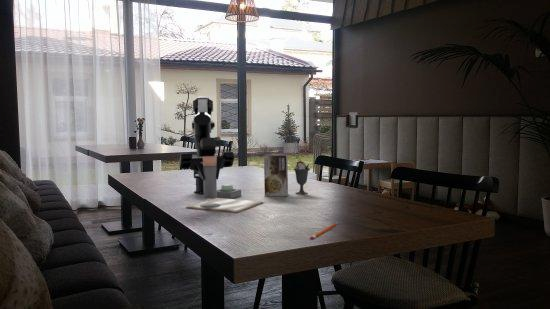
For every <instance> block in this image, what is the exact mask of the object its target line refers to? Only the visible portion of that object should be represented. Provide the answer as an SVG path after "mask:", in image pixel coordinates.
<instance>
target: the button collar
mask: <svg viewBox="0 0 550 309" xmlns="http://www.w3.org/2000/svg"><path fill="white" fill-rule="evenodd" d="M241 196H242V189H241V188H233V191H231V192H226V191H222V188H220V189H217V197H216V198H224V199H235V198H238V197H241Z"/></svg>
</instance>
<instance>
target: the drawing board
mask: <svg viewBox="0 0 550 309" xmlns="http://www.w3.org/2000/svg"><path fill="white" fill-rule="evenodd" d="M261 204H264V201H261V200H249V199H246V200H245V199H235V198H232V199H225V198H209V199H207V200H204V201H201V202H200V201H199V202H198V203H193V204H190V205H187V206H185V208H186V209H191V210H201V211H210V212H211V211H212V212H222V213H230V214H231V213H233V214H238V213H241V212H243V211H247V210H250V209H251V208H254V207H257V206H259V205H261Z"/></svg>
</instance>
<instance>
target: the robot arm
mask: <svg viewBox="0 0 550 309" xmlns="http://www.w3.org/2000/svg"><path fill="white" fill-rule="evenodd" d="M192 111H193V113H194V118H193V120H191V129H192V131H194V132H193V133H194V142H195V146H196V154H193V153H192V152H181V153H180V155H179V162H178V165H179V169H180V170H189V169H190V171H193V179H195V190H194V191H193V193H194V194H195V193H196V194H204V179H205V178H204V173H203V156H216V159H217V165H216V177H217V180H219V177H220V171H221V170H222V169H224V168H231V167H233V165H234V161H235V158H236V157H235V156H236V155H235V153H234V151H221V155H215V154H216V153H217V150H216V148H219V147H220V148H221V146H222V140H221V137H220V136H214V137H211V133H212V131H213V130H214V128H215V126H216V125H215V124H216V123H215V122H214V121H213V120H212V112H214V101H213V100H211V99H210V98H209V97H208V96H198V97H196V99H194V100H192Z"/></svg>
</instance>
